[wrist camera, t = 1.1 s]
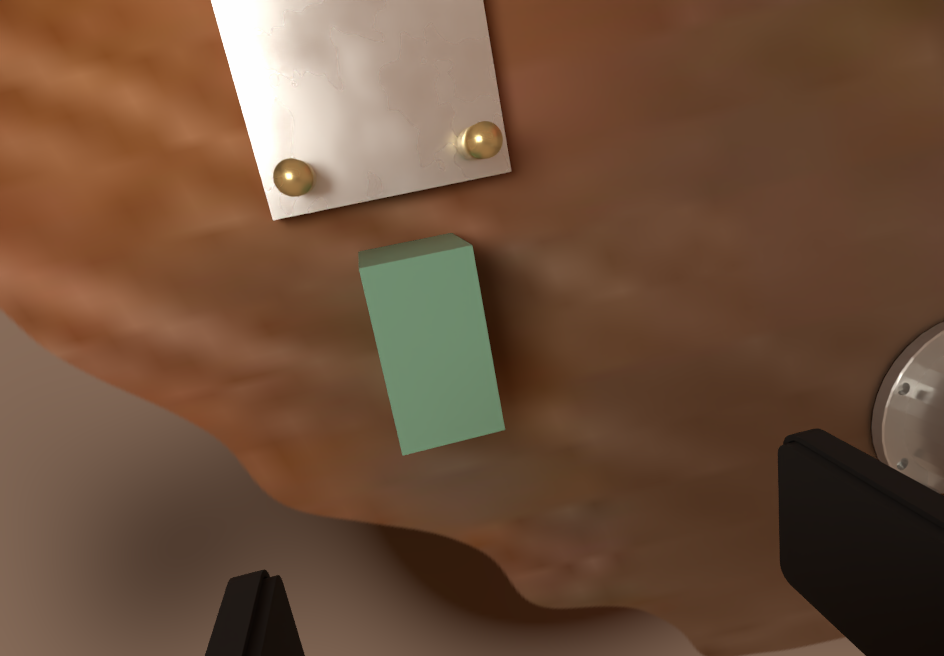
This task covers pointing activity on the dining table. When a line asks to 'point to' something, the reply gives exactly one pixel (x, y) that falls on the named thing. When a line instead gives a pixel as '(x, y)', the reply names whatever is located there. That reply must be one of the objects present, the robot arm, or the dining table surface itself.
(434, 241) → the block
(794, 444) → the robot arm
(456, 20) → the chassis plate
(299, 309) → the dining table surface
